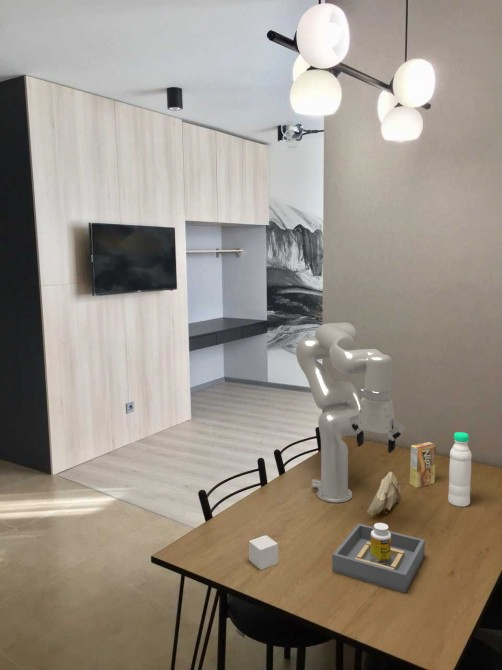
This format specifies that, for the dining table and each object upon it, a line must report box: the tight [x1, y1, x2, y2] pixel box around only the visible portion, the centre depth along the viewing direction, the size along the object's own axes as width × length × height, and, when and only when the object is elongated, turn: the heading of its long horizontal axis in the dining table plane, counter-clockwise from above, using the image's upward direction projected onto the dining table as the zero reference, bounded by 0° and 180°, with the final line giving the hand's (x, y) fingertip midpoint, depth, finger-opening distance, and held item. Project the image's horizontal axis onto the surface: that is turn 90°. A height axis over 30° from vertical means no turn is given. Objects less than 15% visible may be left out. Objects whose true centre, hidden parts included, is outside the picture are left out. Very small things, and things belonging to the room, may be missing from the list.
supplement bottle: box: [370, 522, 391, 565], centre depth 153 cm, size 6×6×10 cm
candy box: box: [409, 441, 437, 488], centre depth 205 cm, size 9×4×15 cm, turn 116°
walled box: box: [331, 523, 426, 594], centre depth 154 cm, size 20×20×5 cm
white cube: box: [248, 534, 279, 571], centre depth 156 cm, size 6×6×6 cm
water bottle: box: [447, 431, 473, 508], centre depth 188 cm, size 7×7×25 cm
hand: (375, 448), depth 169 cm, fingers open, 9 cm apart
